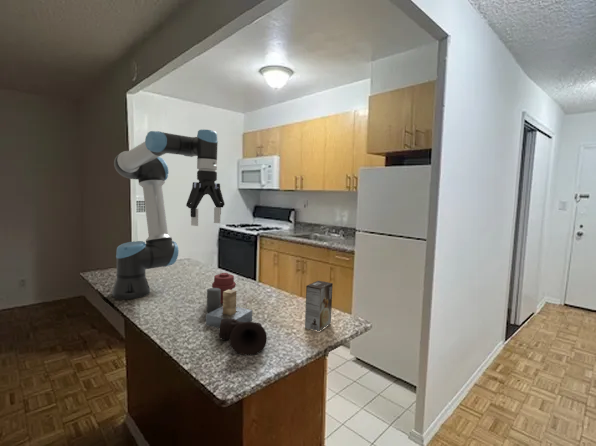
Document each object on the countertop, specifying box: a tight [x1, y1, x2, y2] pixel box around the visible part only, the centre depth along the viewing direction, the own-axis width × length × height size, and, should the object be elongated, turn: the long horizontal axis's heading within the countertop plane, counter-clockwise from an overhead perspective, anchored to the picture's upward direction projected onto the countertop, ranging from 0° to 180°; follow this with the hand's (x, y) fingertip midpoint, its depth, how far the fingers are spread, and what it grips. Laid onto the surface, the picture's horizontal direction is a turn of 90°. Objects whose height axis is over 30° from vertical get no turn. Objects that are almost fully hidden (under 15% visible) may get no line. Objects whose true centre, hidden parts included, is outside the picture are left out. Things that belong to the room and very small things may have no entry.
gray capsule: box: [206, 287, 221, 314], centre depth 134 cm, size 5×5×9 cm
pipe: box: [218, 318, 268, 356], centre depth 108 cm, size 10×15×15 cm
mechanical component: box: [211, 272, 237, 305], centre depth 146 cm, size 12×10×10 cm
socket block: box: [205, 305, 253, 329], centre depth 124 cm, size 12×12×4 cm
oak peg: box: [222, 289, 237, 315], centre depth 123 cm, size 3×3×12 cm
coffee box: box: [304, 280, 333, 331], centre depth 123 cm, size 9×6×16 cm
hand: (206, 224), depth 134 cm, fingers open, 13 cm apart
